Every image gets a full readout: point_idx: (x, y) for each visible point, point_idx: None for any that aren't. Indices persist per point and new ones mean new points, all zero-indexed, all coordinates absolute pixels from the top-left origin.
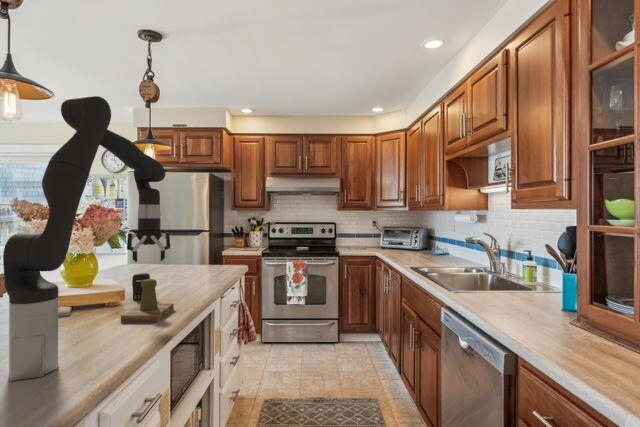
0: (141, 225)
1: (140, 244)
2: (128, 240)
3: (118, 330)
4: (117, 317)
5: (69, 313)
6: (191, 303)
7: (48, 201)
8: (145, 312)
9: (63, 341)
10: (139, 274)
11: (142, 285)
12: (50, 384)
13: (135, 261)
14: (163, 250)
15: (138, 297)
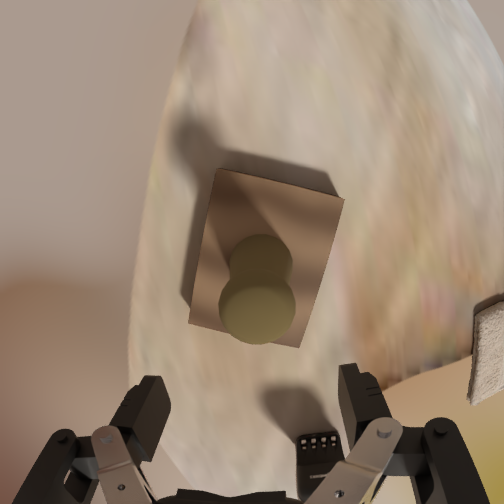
0: None
1: (329, 481)
2: (474, 493)
3: (323, 113)
4: (361, 266)
5: (478, 315)
6: (156, 370)
7: None
8: (264, 220)
9: (432, 68)
10: None
11: (284, 281)
12: None
13: (349, 364)
14: (107, 426)
15: (325, 439)
